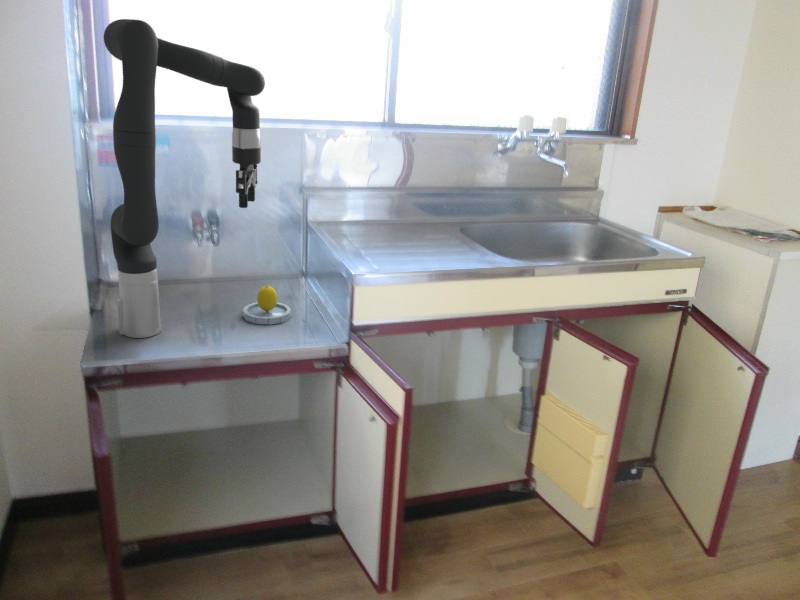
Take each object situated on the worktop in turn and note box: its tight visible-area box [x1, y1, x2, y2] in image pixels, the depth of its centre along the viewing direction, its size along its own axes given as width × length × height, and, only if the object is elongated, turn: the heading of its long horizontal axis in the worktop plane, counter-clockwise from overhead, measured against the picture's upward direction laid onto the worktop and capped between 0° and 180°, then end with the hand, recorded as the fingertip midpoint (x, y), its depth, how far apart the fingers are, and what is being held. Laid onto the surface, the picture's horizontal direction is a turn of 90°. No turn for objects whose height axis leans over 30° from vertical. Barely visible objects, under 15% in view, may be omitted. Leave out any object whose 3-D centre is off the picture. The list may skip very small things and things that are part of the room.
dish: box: [242, 301, 292, 325], centre depth 189 cm, size 13×13×2 cm
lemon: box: [256, 284, 278, 312], centre depth 188 cm, size 6×6×8 cm
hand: (247, 204), depth 185 cm, fingers open, 8 cm apart
